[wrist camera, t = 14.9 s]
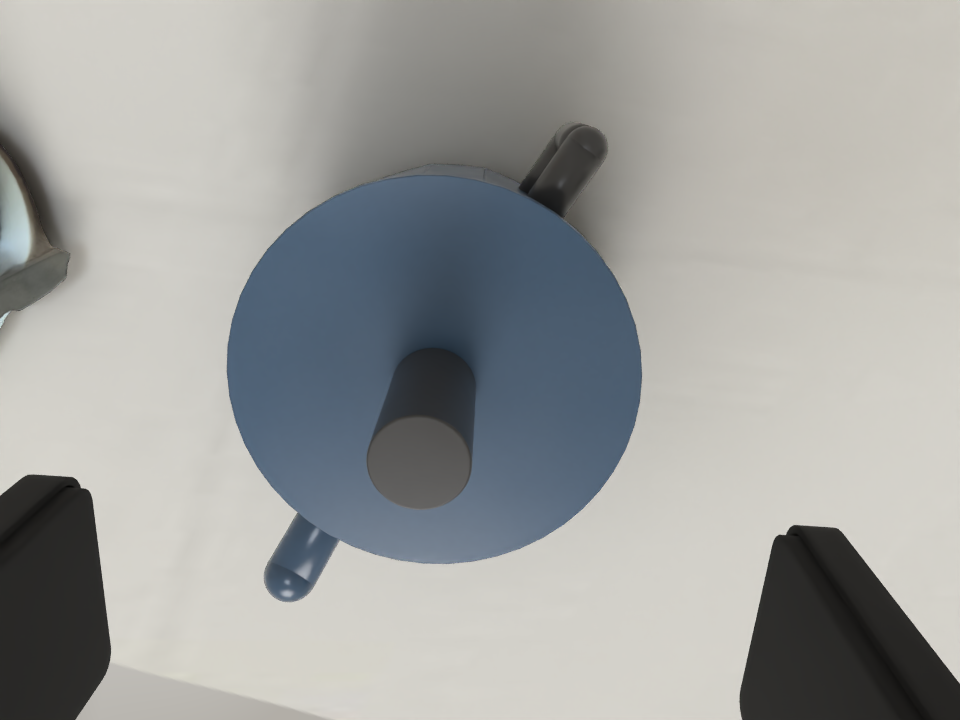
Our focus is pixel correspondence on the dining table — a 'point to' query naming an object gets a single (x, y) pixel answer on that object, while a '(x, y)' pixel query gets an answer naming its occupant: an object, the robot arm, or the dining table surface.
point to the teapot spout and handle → (547, 182)
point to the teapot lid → (434, 368)
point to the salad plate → (23, 245)
